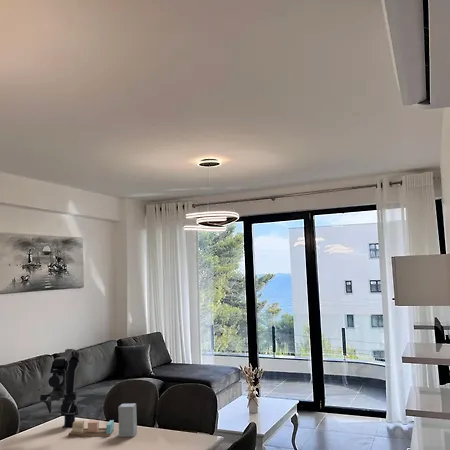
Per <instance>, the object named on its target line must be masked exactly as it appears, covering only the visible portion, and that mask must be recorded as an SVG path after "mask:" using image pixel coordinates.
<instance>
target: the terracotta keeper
mask: <svg viewBox="0 0 450 450" xmlns="http://www.w3.org/2000/svg"><path fill="white" fill-rule="evenodd" d="M87 428H88V432H98V430H99V428H100V420H96V419H95V420H94V419H93V420H92V419H91V420H89V421H88V422H87Z"/></svg>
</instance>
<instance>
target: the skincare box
mask: <svg viewBox="0 0 450 450" xmlns="http://www.w3.org/2000/svg"><path fill="white" fill-rule="evenodd" d="M117 410H118V437H119V438H122V437H123V438H131V437H132V438H133V437H135V436H136V435H137V433H138V423H137V421H138V420H137V416H138V415H137V403H135V402H134V403H121V404H120V405H119V406H118V409H117Z"/></svg>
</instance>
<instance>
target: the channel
mask: <svg viewBox="0 0 450 450" xmlns="http://www.w3.org/2000/svg"><path fill="white" fill-rule="evenodd" d="M106 429H107V427H99V430H98V432H88V427H87V428H85V427H84V431H83V432H72V430H71V431H70V432H68V435H67V437H68V438H79V437H80V438H81V437H83V438H84V437H87V438H88V437H91V438H92V437H111V436H112V434H113V432H114V430H115V429H113V430H112V432H111V433H110V434H106Z"/></svg>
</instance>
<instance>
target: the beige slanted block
mask: <svg viewBox="0 0 450 450" xmlns="http://www.w3.org/2000/svg"><path fill="white" fill-rule="evenodd" d="M84 428H85V420H75V421H74V422H73V427H71V429H72V430H71V431H72V432H83V431H84Z"/></svg>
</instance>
